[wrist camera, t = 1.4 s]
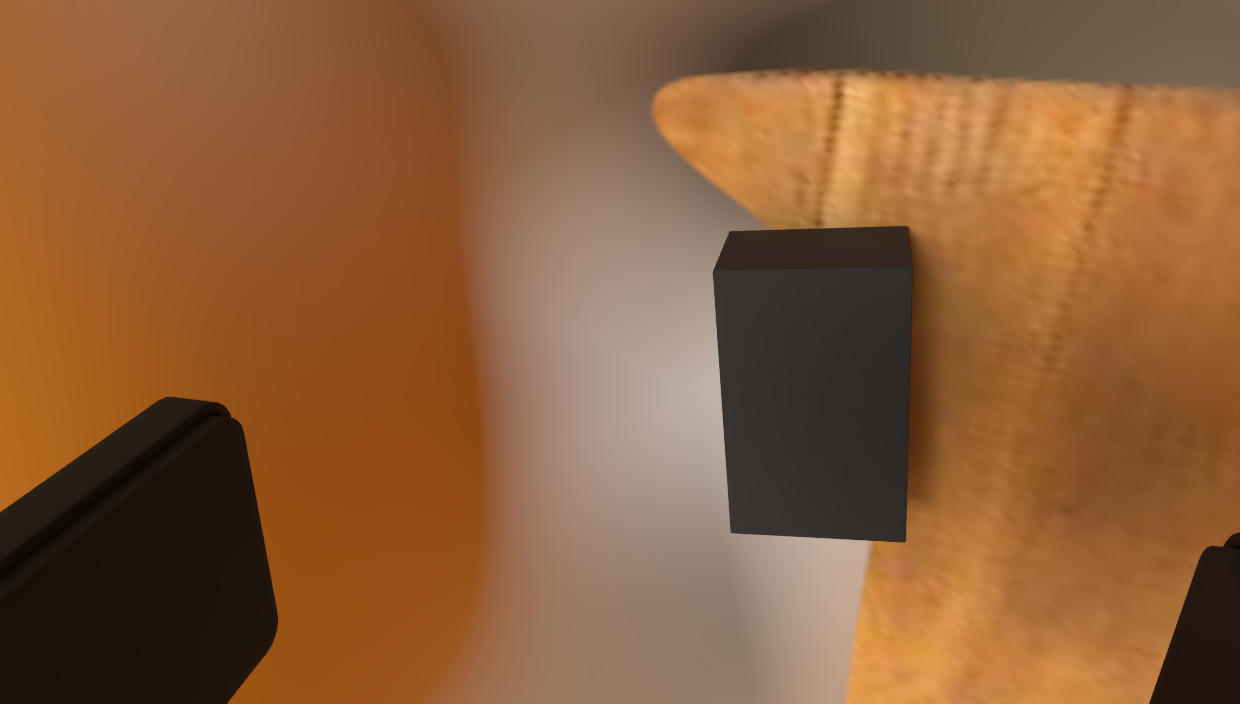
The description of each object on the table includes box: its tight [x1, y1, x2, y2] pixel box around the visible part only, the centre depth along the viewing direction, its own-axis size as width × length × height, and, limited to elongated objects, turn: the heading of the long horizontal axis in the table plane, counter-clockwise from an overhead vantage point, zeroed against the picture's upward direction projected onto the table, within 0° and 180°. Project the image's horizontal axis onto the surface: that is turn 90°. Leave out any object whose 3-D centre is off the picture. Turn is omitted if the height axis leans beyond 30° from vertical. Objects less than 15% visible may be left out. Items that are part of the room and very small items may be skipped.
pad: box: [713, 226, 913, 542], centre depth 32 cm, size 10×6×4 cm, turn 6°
